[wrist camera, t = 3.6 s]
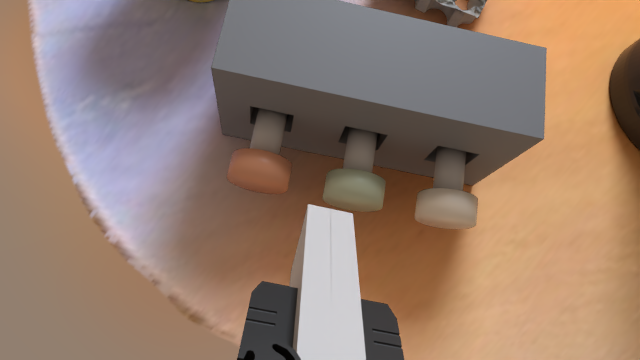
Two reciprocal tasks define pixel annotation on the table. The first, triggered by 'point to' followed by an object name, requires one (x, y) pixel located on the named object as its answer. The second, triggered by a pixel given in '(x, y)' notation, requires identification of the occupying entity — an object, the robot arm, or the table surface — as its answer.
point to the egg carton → (453, 10)
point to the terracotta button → (262, 157)
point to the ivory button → (447, 194)
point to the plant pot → (200, 0)
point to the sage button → (356, 176)
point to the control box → (379, 83)
